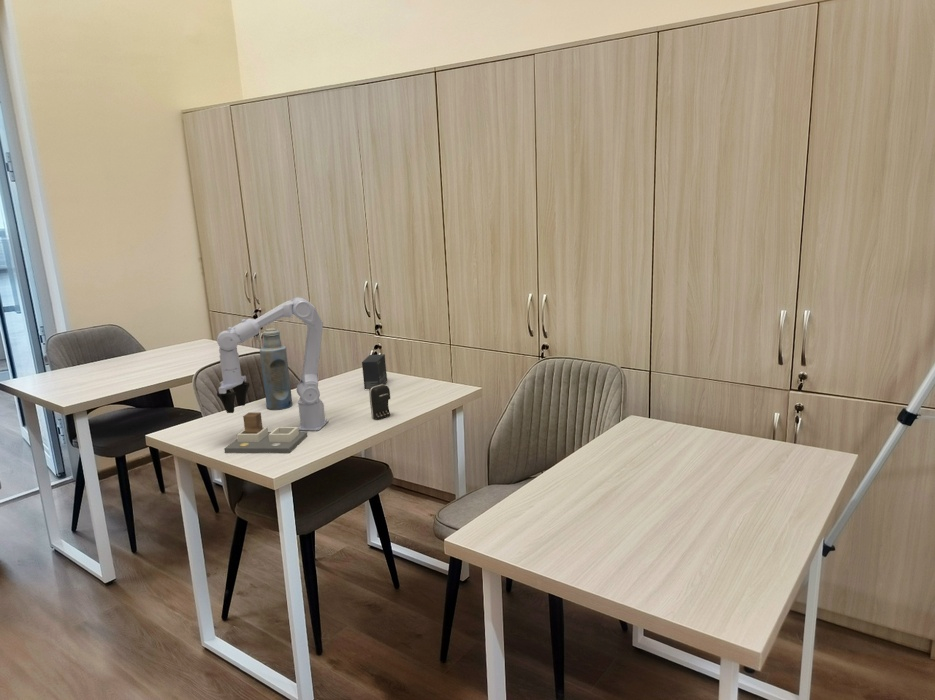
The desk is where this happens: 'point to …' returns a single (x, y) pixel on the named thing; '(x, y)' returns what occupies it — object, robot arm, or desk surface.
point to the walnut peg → (252, 423)
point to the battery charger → (379, 401)
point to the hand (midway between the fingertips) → (236, 409)
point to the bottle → (275, 371)
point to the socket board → (267, 441)
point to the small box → (374, 371)
